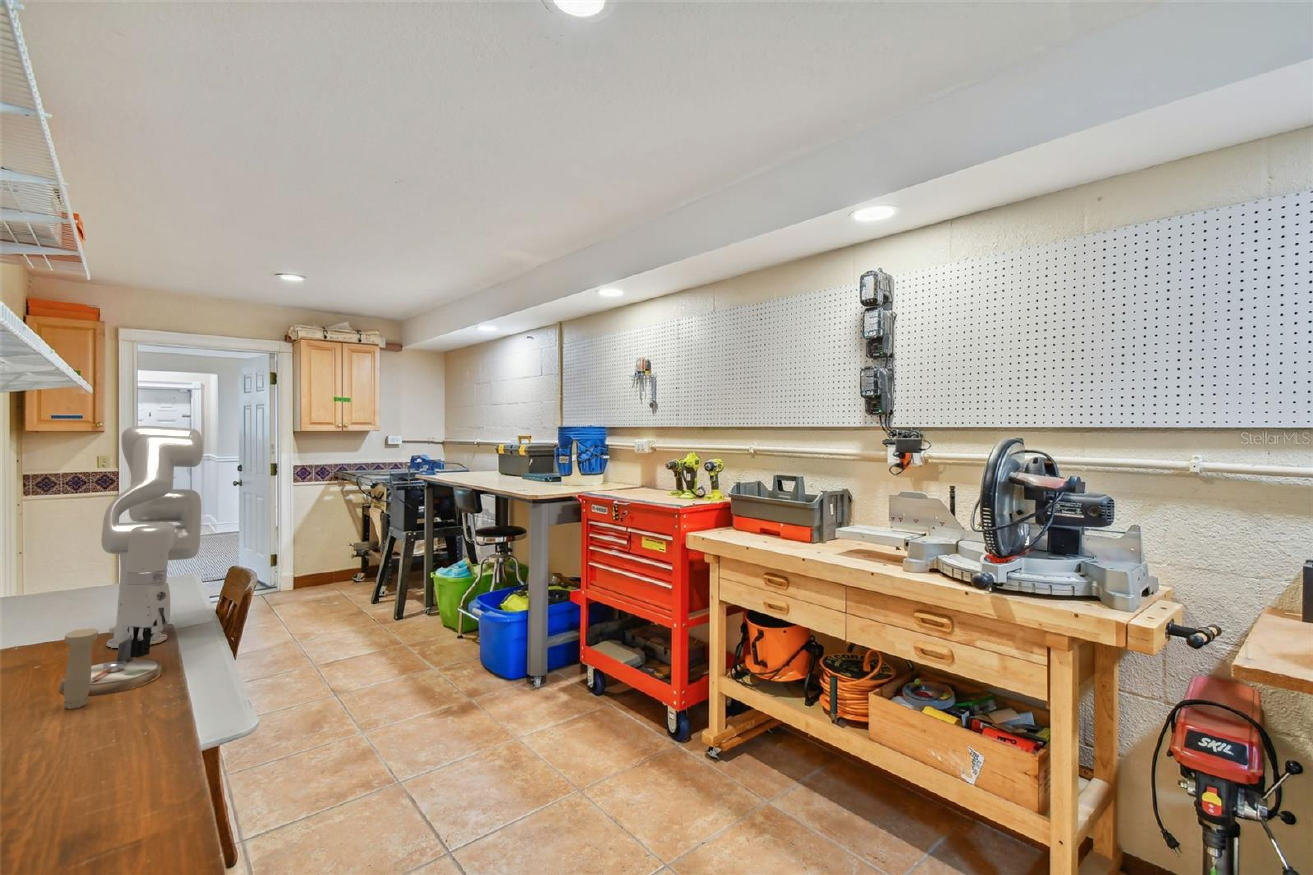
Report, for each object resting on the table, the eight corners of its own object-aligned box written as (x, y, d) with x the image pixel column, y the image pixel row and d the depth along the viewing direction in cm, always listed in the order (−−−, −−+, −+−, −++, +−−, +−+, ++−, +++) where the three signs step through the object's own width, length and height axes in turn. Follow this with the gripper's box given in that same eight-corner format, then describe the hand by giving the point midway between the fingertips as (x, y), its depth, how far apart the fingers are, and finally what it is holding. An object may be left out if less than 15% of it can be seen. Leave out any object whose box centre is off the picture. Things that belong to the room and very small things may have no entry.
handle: (55, 715, 117) (62, 638, 118) (62, 703, 122) (68, 630, 123) (89, 709, 120) (95, 635, 121) (94, 699, 125) (100, 627, 126)
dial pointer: (103, 680, 128) (106, 656, 129) (83, 682, 127) (85, 657, 128) (140, 659, 142) (141, 637, 142) (121, 660, 141) (123, 637, 141)
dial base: (136, 693, 129) (137, 681, 129) (39, 698, 124) (40, 686, 124) (175, 666, 145) (176, 656, 145) (90, 670, 140) (91, 660, 141)
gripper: (187, 577, 143) (181, 654, 142) (137, 573, 146) (131, 648, 145) (155, 583, 136) (148, 664, 135) (104, 578, 139) (97, 657, 138)
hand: (139, 655), depth 140 cm, fingers closed
